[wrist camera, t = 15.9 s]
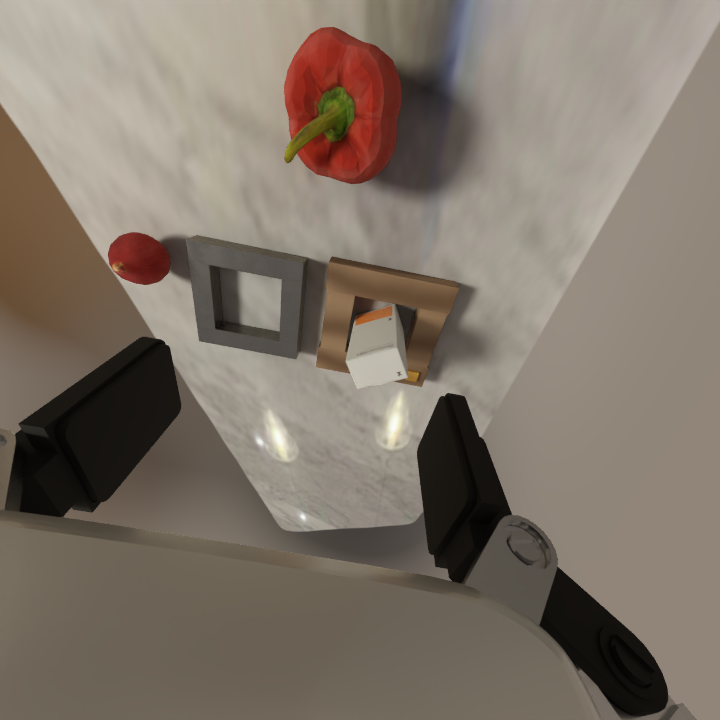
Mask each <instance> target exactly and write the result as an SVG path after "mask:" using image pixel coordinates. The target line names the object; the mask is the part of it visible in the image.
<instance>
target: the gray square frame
mask: <svg viewBox="0 0 720 720" xmlns="http://www.w3.org/2000/svg"><path fill="white" fill-rule="evenodd" d="M185 240H186V247H187V254H188V262H189V269H190V277H191V284H192V291H193V299H194V306H195V314H196V321H197V328H198V336H199V341H201V342H207V343H212V344H218V345H223V346H228V347H234V348H239V349H244V350H250V351H255V352H260V353H266V354H271V355H276V356H282V357H287V358H293V359H296V358H297V356H298V354H299V352H300V346H301V334H302V322H303V310H304V298H305V286H306V274H307V262H308V258H306V257H301V256H296V255H291V254H286V253H281V252H276V251H272V250H267V249H262V248H257V247H252V246H247V245H242V244H237V243H232V242H227V241H222V240H217V239H212V238H207V237H202V236H197V235H196V236H193V237H191V238H188V239H185ZM219 267H222V268H227V269H233V270H238V271H243V272H248V273H253V274H258V275H263V276H268V277H273V278H278V279H282V291H281V318H280V332H277V331H272V330H267V329H261V328H256V327H251V326H245V325H240V324H235V323H230V322H224V321H223V311H222V299H221V286H220V274H219Z"/></svg>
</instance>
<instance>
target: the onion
mask: <svg viewBox="0 0 720 720" xmlns="http://www.w3.org/2000/svg"><path fill="white" fill-rule="evenodd" d="M108 258H109V264H110V266H111V267H112V269H113V271H114V272H115V273H116V274H118V275H119V276H120V277H121V278H123V279H125V280H128V281H130V282H133V283H136V284H143V285H148V284H153V283H157V282H159V281H161V280H162V279H163V278H164V277H165V276H166V275H167V274H168V273H169V269H170V264H171V262H170V256H169V254H168V252H167V250H166V249H165V248H164V247H163V245H162V244H161V243H160V242H158V241H157V240H155V239H154V238H152V237H150V236H148V235H145V234H141V233H135V232H132V233H128V234H123V235H121V236H119V237H118V238H117V239H116V240H115V241H114V242H113V243H112V244H111V245H110V248H109V252H108Z"/></svg>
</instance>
